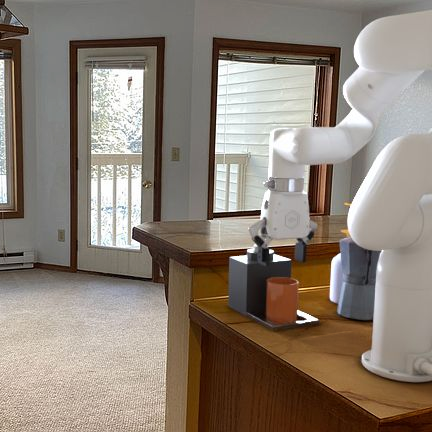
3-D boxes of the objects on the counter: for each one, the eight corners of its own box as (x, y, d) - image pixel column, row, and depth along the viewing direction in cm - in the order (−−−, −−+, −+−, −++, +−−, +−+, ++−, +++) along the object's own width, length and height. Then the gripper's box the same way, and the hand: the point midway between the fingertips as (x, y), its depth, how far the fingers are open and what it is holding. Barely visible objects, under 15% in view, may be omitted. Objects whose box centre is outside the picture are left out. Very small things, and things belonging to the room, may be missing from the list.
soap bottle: (322, 298, 141) (327, 201, 137) (352, 295, 143) (357, 200, 140) (344, 308, 132) (350, 206, 129) (376, 305, 135) (383, 204, 131)
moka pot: (370, 306, 134) (375, 224, 131) (392, 328, 118) (398, 236, 116) (329, 305, 135) (333, 224, 132) (346, 327, 119) (351, 235, 117)
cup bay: (319, 324, 121) (319, 319, 121) (272, 331, 117) (273, 326, 117) (289, 310, 131) (290, 306, 131) (246, 316, 126) (246, 312, 126)
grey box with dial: (289, 310, 131) (292, 252, 129) (246, 316, 126) (247, 256, 124) (270, 301, 138) (272, 246, 136) (228, 306, 134) (229, 249, 132)
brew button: (270, 253, 129) (270, 246, 129) (258, 254, 128) (258, 247, 128) (262, 250, 132) (262, 243, 132) (250, 251, 131) (251, 244, 131)
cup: (303, 322, 122) (305, 283, 121) (277, 326, 120) (278, 286, 118) (284, 313, 128) (286, 275, 127) (259, 317, 126) (260, 278, 125)
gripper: (261, 189, 113) (258, 270, 116) (329, 186, 120) (324, 263, 122) (241, 185, 120) (239, 262, 123) (307, 183, 126) (303, 256, 129)
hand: (281, 263), depth 123 cm, fingers open, 9 cm apart
